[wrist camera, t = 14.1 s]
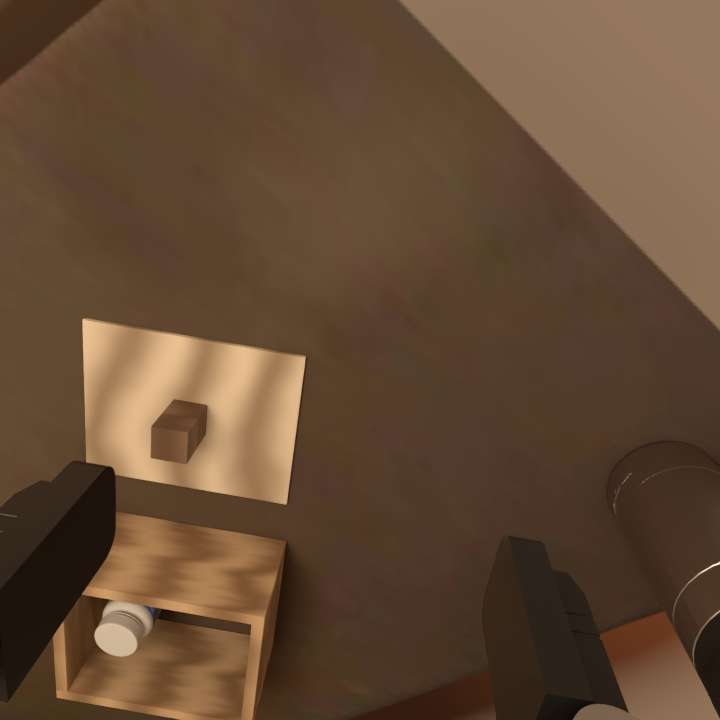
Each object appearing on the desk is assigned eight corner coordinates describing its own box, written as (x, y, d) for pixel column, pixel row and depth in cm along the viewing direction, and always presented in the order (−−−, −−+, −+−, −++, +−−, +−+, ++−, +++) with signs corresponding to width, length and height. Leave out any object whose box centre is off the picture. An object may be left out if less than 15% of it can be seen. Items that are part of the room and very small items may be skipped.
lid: (307, 353, 51) (295, 382, 45) (288, 498, 56) (275, 539, 51) (88, 315, 51) (49, 340, 45) (91, 464, 56) (57, 501, 51)
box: (286, 541, 57) (264, 617, 49) (272, 646, 63) (250, 731, 54) (104, 509, 58) (49, 579, 49) (105, 616, 63) (56, 697, 54)
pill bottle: (182, 567, 60) (149, 634, 52) (167, 598, 61) (132, 668, 54) (138, 548, 59) (98, 612, 51) (124, 580, 61) (83, 647, 53)
